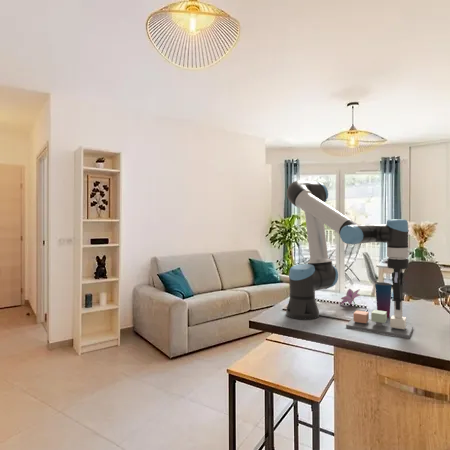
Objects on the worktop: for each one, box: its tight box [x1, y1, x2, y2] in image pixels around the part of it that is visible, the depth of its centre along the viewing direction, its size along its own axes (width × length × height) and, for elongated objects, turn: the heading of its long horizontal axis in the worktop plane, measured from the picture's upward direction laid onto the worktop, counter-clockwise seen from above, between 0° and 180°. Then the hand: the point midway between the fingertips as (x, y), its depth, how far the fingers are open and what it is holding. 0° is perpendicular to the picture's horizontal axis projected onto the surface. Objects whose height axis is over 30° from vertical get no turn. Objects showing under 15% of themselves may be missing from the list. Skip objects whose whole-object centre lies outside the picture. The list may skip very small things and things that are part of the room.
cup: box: [374, 281, 393, 319], centre depth 151 cm, size 7×7×15 cm
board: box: [345, 317, 414, 339], centre depth 135 cm, size 23×13×3 cm, turn 55°
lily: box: [339, 288, 361, 309], centre depth 168 cm, size 12×12×10 cm
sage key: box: [370, 309, 388, 323], centre depth 135 cm, size 5×5×4 cm
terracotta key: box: [352, 309, 370, 323], centre depth 139 cm, size 5×5×4 cm
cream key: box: [389, 315, 407, 329], centre depth 131 cm, size 5×5×4 cm
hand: (398, 317), depth 131 cm, fingers closed
